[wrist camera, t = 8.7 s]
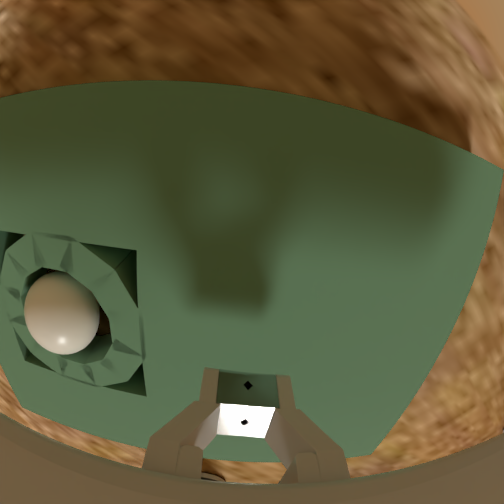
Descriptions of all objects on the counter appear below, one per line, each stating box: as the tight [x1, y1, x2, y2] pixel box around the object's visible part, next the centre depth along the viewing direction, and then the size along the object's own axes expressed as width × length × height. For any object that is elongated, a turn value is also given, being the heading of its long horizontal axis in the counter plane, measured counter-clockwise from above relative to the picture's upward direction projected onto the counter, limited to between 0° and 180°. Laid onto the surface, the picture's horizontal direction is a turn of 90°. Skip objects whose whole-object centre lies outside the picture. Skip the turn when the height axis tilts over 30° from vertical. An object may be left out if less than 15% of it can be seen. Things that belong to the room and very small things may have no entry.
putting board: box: [0, 80, 504, 462], centre depth 13 cm, size 26×20×2 cm
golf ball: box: [24, 271, 100, 355], centre depth 12 cm, size 4×4×4 cm
